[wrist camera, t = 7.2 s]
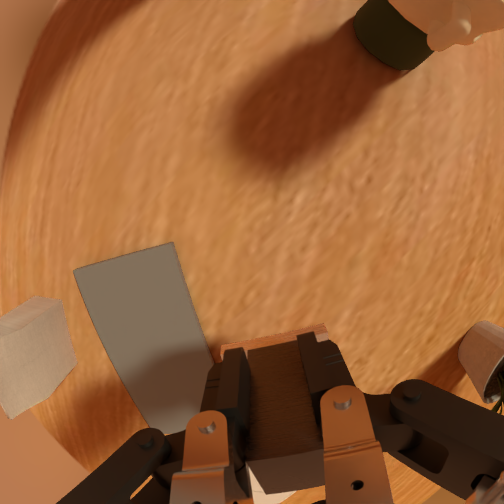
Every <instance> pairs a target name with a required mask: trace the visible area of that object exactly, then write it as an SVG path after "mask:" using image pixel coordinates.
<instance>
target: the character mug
mask: <svg viewBox="0 0 504 504" xmlns="http://www.w3.org/2000/svg"><path fill="white" fill-rule="evenodd" d="M353 26H354V29H355V32H356V35H357V38H358V39H359V40H360V42H361V43H362V44H363V45H364V46H365V48H366V49H367V50H368V51H369V52H370V53H371V54H373V55H374V56H375V57H377V58H378V59H379V60H381V61H382V62H383V63H385V64H387V65H389V66H392V67H394V68H396V69H398V70H410V69H415V68H416V67H417V66H418V65H420V64H421V63H422V62H423V61H424V60H426V59H427V58H428V57H429V56H430V55H431V54H432V53H433V52H434V51H438V52H439V51H443V50H445V49H447V48H449V47H450V46H452V45H454V44H460V45H470V44H473V43H474V42H476V41H477V40H478V39H479V38H480V37H481V36H482V35H483V33H487V32H492V31H496V30H500V29H503V28H504V0H368V1H367V2H366V3H365V4H364V5H363V6H362V7H361V8H360V9H359V10H358V11H357V13H356V16H355V19H354V22H353Z"/></svg>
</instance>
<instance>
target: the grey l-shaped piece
mask: <svg viewBox="0 0 504 504" xmlns="http://www.w3.org/2000/svg"><path fill="white" fill-rule="evenodd" d="M312 331H314V333H315V336H316V339H317V342H321V341H325V340H329V338H328V332H327V329H326V327H325V324H324V323H322V324H318V325H314V326H310V327H306V328H302V329H298V330H293V331H289V332H284V333H280V334H275V335H271V336H266V337H261V338H256V339H251V340H246V341H241V342H235V343H230V344H224V345H222V346H221V352H220V356H221V358H222V361H223V356H224V351H225V350H227V349H233V348H238V347H243V349H244V351H245V354H246V357H247V360H248V363H249V366H250V436H248V437H246V463H247V465H248V466H249V468H250V470H251V471H252V473H253V475H254V476H255V478H256V480H257V481H258V483H259V484H260V486H261V488H262V489H263V491H264V492H265V494H266V495H268V494H277V493H284V492H291V491H297V490H303V489H308V488H313V487H318V486H323V485H325V472H324V454H323V453H324V442H323V435H322V431H321V426H320V424H316V421H315V417H314V412H313V408H312V403H311V399H310V394H309V390H308V386H307V381H306V377H305V373H304V369H303V364H302V360H301V356H300V351H299V346H298V341H297V337H296V335H299V334H303V333H308V332H312Z"/></svg>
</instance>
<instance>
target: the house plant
mask: <svg viewBox="0 0 504 504" xmlns="http://www.w3.org/2000/svg"><path fill="white" fill-rule="evenodd" d="M458 359H459V361H460V362H461V364H462V366H463V367H464V369H465V371H466V372H467V374H468V376H469V377H470V379H471V381H472V383H473V384H474V386H475V388H476V390H477V391H478V393H479V395H480V397H481V399H482V400H483V402H484V403H487V404H489V403H493V402H496V401H498V400H499V401H498V402H497V403H496V405H495V406H494V407H493V409H492V410H491V411H493V412H496V413H497V411H498V410H499V408H500V406H501V410H500V413H499V414H501V413H502V402H503V404H504V328H502V327H500V326H497V325H495V324H493V323H490V322H488V321H481V322H479V323H477V324H475V325H474V326H473V327H472V328H471V329H470V330H469V331H468V333H467V334H466V336H465V337H464V339H463V340H462V342H461V344H460V347H459V350H458Z"/></svg>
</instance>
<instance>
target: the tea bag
mask: <svg viewBox="0 0 504 504" xmlns="http://www.w3.org/2000/svg"><path fill="white" fill-rule="evenodd" d="M76 364H77V359H76V356H75V352H74V349H73V345H72V342H71V338H70V334H69V330H68V326H67V322H66V317H65V313H64V308H63V304H62V300H60V299H53V298H46V297H40V296H33V297H32V298H30V299H28V300H27V301H25V302H24V303H22V304H21V305H19V306H17V307H16V308H14V309H13V310H11V311H10V312H8V313H7V314H5V315H4V316H2V317H1V318H0V404H1V406H2V408H3V410H4V411H5V413H6V415H7V417H8V418H10V419H11V420H12V419H13V418H14V417H16V416H17V415H19V414H20V413H22V412H24V411H25V410H27V409H29V408H31V407H33V406H35V405H36V404H38V403H40V402H42V401H44V400H46V399H48V398H49V396H50V395H51V394H52V393H53V392H54V390H55V389H56V388H57V387H58V386H59V384H60V383H61V382H62V381H63V380H64V378H65V377H66V376H67V375H68V374H69V373H70V371H71V370H72V369H73V368H74V367H75V366H76Z"/></svg>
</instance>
